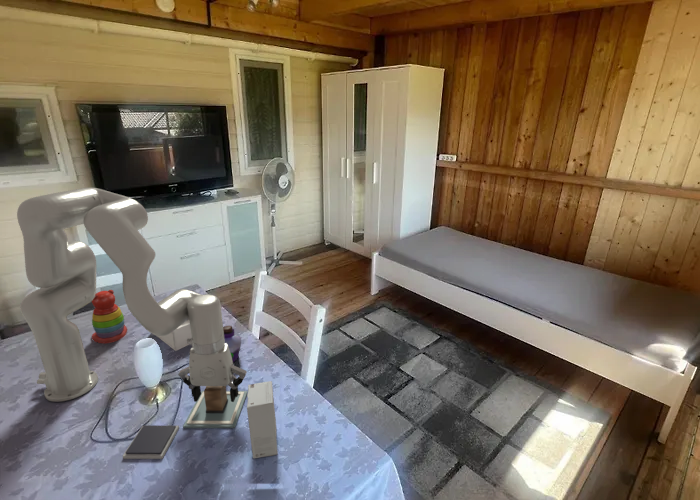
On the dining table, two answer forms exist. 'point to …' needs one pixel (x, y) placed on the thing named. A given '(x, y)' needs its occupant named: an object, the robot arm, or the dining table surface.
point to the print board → (215, 420)
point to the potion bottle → (232, 341)
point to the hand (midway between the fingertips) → (215, 398)
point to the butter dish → (178, 336)
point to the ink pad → (151, 442)
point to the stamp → (215, 399)
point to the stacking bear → (107, 318)
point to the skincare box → (262, 419)
